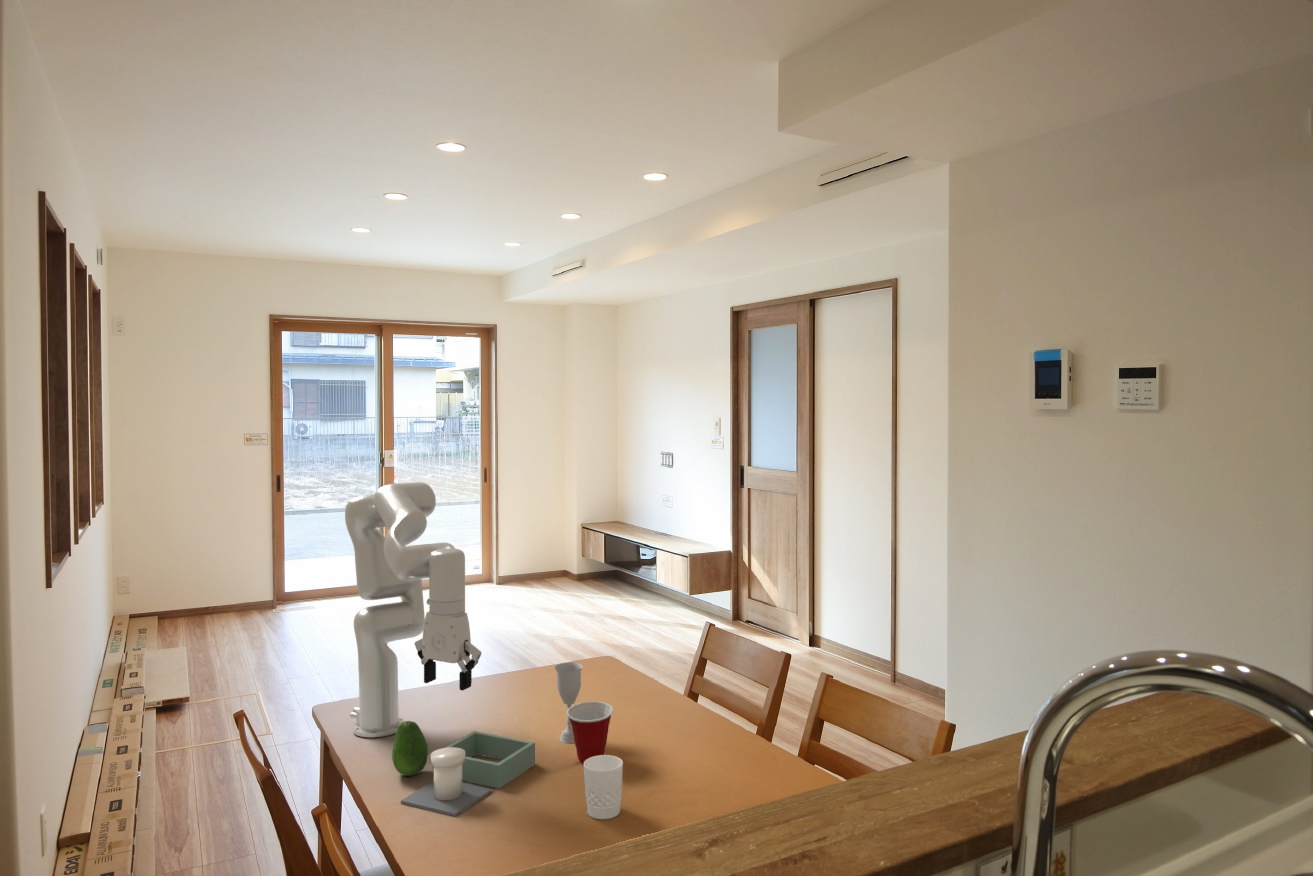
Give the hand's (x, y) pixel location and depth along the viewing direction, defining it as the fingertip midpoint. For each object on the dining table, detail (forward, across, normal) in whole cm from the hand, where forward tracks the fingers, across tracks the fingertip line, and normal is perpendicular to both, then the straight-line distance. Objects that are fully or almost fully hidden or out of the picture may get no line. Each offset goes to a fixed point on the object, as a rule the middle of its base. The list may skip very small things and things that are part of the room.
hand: (447, 684), depth 183 cm
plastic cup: (+22, +22, +24) cm, 39 cm away
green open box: (+22, +3, +9) cm, 24 cm away
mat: (+22, +4, -6) cm, 23 cm away
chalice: (+22, +11, +32) cm, 41 cm away
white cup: (+21, +37, +3) cm, 43 cm away
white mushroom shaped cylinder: (+21, +5, -6) cm, 22 cm away
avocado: (+22, -10, 0) cm, 24 cm away
